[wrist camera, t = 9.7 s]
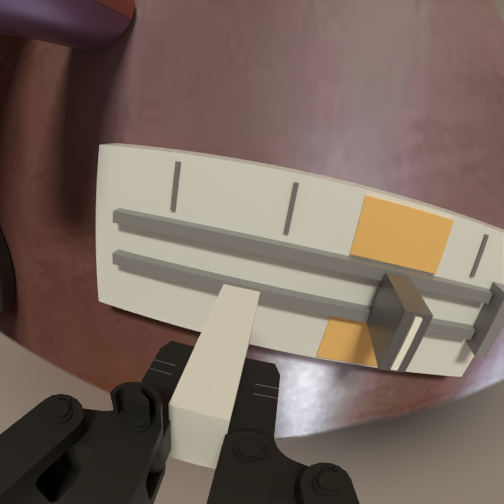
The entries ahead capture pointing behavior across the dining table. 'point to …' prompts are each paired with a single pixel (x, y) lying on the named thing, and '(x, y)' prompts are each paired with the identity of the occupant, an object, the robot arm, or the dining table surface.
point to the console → (291, 254)
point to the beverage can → (67, 21)
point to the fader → (397, 322)
